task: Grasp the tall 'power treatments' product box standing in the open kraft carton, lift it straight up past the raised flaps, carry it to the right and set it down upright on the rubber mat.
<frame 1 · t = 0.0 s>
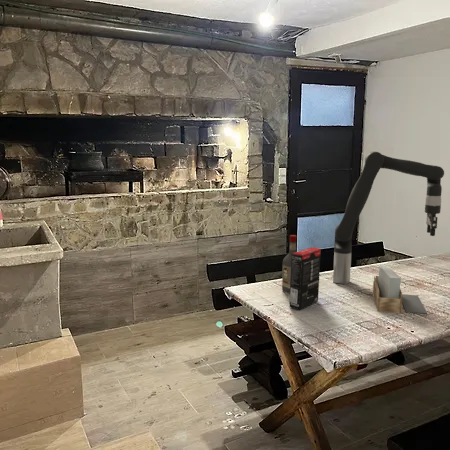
hand: (430, 234, 241), 29 cm above the table, fingers open, 8 cm apart
skincare box: (387, 303, 223), resting in carton
carton: (386, 302, 223), on the table
mat: (412, 304, 220), on the table
liquor: (291, 291, 242), on the table
graphics card box: (304, 305, 221), on the table
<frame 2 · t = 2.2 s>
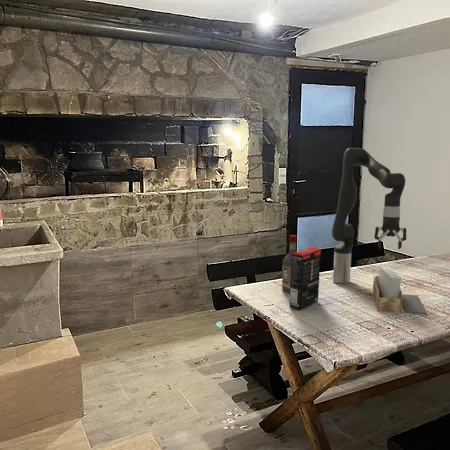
hand: (389, 248, 218), 27 cm above the table, fingers open, 8 cm apart
nothing on the table moved.
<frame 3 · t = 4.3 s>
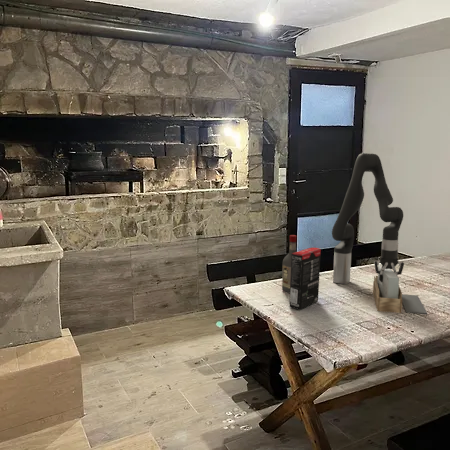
hand: (387, 281, 221), 11 cm above the table, fingers closed on skincare box, 5 cm apart
skincare box: (387, 302, 223), resting in carton, touching gripper
everything else where it was.
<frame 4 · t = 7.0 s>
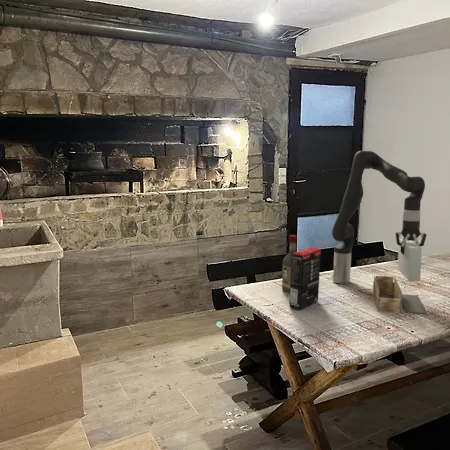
hand: (409, 254, 216), 25 cm above the table, fingers closed on skincare box, 5 cm apart
skincare box: (409, 275, 218), point 14 cm above the table, touching gripper
everything else where it was.
when the fingers open (12 cm above the table, at t = 10.0 s): skincare box drops 1 cm, resting on mat.
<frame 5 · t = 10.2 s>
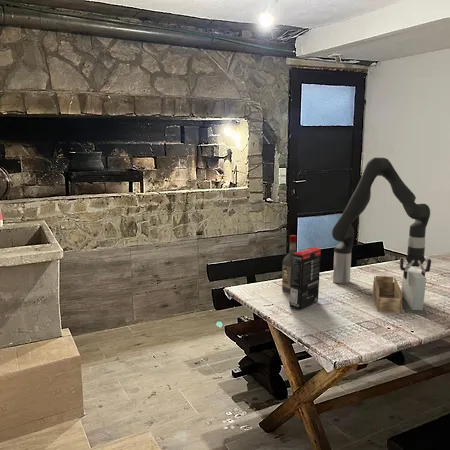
hand: (413, 279, 218), 13 cm above the table, fingers open, 6 cm apart
skincare box: (411, 303, 220), resting on mat
everything else where it was.
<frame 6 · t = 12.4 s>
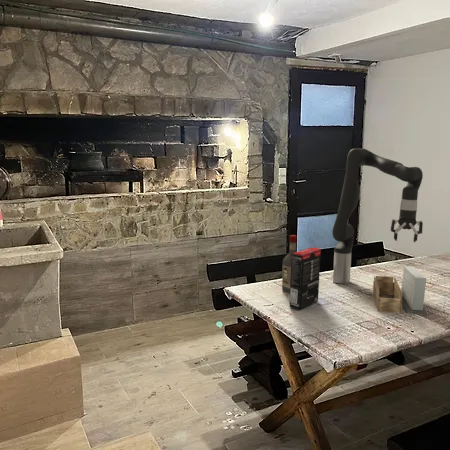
hand: (405, 241, 222), 30 cm above the table, fingers open, 8 cm apart
nothing on the table moved.
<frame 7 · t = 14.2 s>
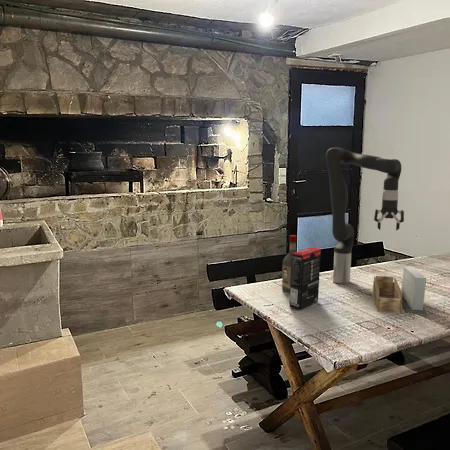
hand: (388, 229, 234), 33 cm above the table, fingers open, 8 cm apart
nothing on the table moved.
at the end: skincare box 0.2 cm from the mat (horizontally); skincare box tilted 0°; the gripper is holding nothing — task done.
